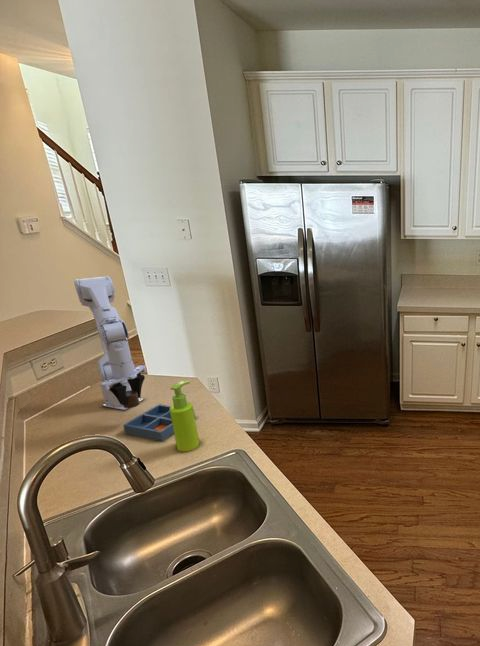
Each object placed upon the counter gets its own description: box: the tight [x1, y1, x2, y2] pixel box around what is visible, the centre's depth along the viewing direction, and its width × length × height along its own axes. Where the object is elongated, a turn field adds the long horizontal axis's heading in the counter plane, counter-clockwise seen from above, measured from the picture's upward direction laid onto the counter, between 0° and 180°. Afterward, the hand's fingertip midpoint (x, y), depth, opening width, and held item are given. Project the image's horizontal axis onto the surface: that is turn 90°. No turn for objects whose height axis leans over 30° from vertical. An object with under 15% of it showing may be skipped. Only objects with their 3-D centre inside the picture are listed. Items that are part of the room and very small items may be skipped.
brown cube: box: [123, 390, 141, 409], centre depth 135 cm, size 4×4×4 cm
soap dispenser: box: [169, 380, 200, 452], centre depth 124 cm, size 6×7×20 cm
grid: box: [123, 403, 196, 442], centre depth 137 cm, size 14×14×3 cm
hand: (130, 400), depth 135 cm, fingers closed on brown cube, 4 cm apart
